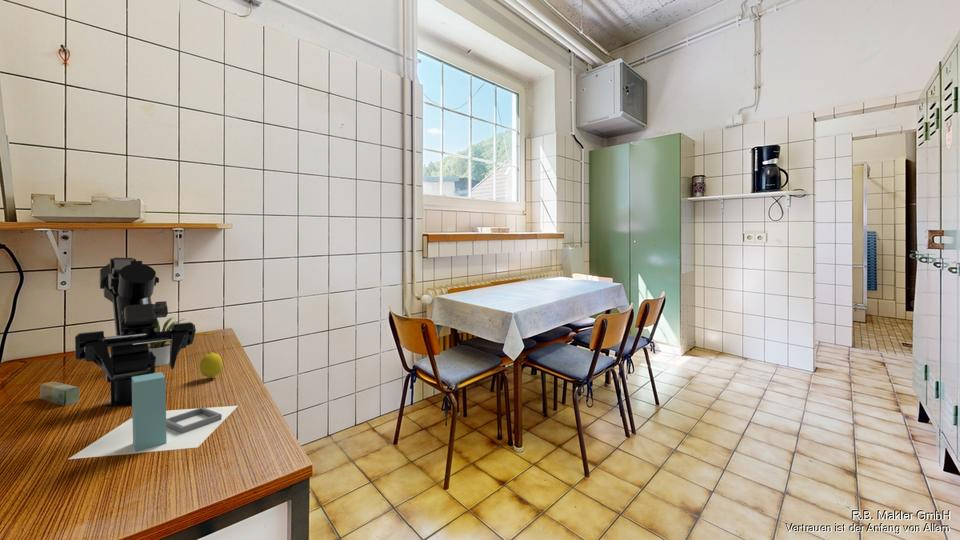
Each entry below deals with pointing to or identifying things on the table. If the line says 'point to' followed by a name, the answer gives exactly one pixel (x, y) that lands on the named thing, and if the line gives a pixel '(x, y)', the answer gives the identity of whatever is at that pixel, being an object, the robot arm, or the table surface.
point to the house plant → (162, 346)
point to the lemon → (211, 365)
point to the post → (149, 410)
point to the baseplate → (122, 443)
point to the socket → (182, 429)
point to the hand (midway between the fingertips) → (143, 373)
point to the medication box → (59, 393)
